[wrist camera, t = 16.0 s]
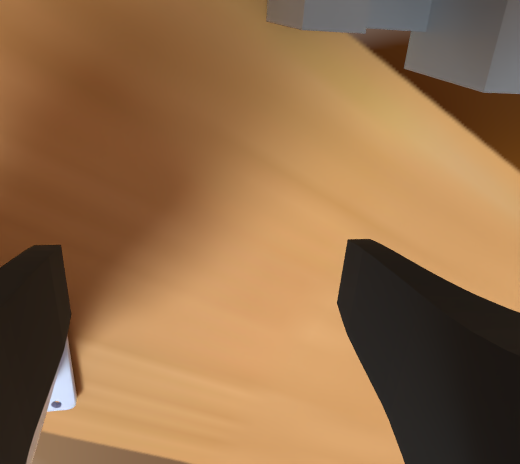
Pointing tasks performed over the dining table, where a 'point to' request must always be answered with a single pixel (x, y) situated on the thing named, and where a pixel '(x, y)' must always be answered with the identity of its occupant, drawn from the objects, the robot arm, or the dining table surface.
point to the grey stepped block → (428, 34)
